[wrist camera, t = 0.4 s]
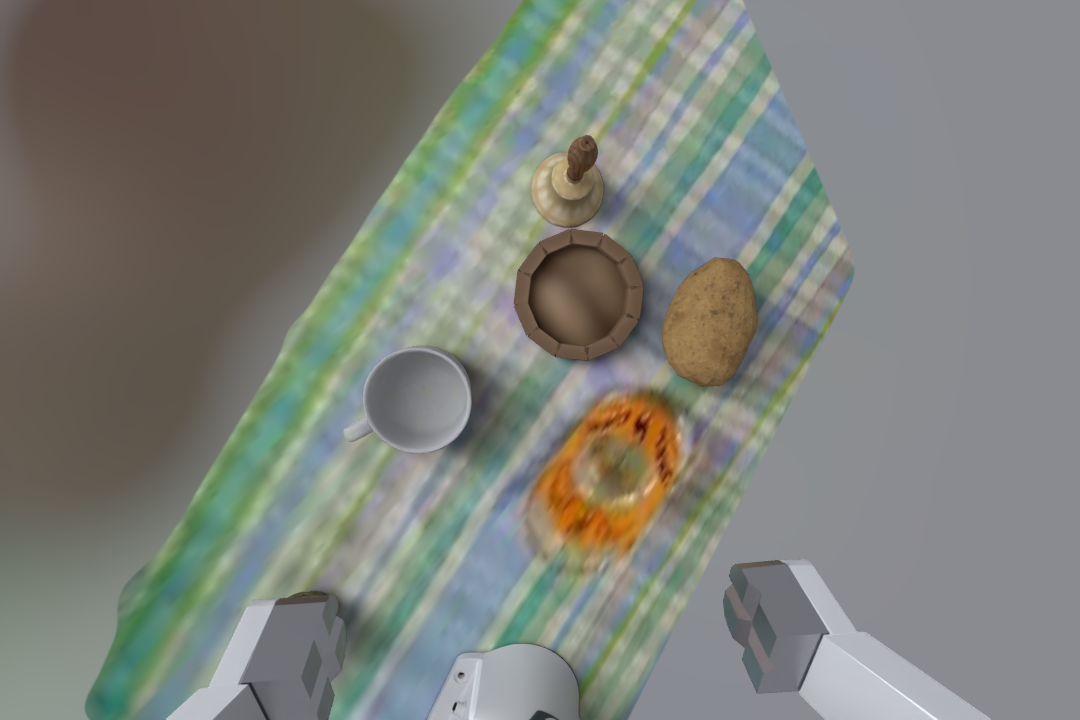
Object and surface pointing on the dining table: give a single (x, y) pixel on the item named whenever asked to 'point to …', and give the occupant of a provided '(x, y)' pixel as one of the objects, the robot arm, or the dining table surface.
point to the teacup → (415, 400)
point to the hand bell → (569, 185)
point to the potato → (710, 322)
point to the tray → (578, 294)
